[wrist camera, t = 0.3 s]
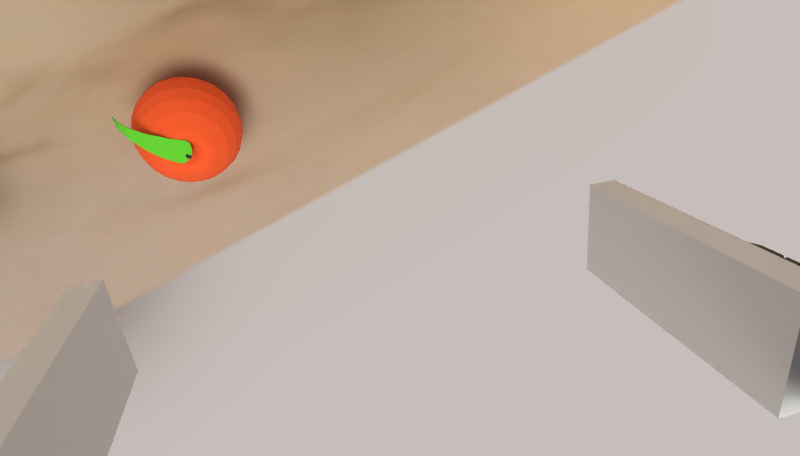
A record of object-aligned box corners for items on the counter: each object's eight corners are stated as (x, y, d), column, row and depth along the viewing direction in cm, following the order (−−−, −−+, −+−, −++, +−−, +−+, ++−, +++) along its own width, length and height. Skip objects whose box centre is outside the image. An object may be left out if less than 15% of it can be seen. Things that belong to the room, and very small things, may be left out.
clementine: (110, 132, 37) (96, 186, 32) (128, 40, 34) (115, 83, 29) (225, 160, 41) (229, 212, 36) (251, 79, 38) (260, 123, 32)
